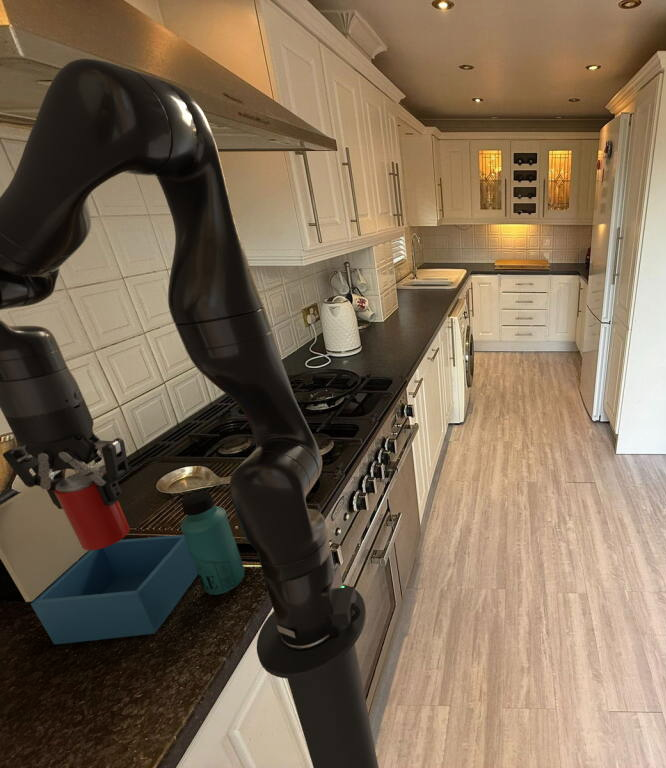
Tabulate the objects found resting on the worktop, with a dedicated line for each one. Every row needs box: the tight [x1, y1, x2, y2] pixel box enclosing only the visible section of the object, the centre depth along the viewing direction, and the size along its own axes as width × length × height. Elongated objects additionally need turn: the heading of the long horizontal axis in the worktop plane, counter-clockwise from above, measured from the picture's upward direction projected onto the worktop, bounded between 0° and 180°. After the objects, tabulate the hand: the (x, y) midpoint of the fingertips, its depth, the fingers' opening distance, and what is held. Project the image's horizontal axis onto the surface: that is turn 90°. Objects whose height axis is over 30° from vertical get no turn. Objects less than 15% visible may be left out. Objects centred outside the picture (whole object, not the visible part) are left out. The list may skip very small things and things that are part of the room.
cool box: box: [30, 534, 199, 645], centre depth 69 cm, size 14×13×9 cm
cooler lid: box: [0, 469, 90, 603], centre depth 63 cm, size 15×13×6 cm
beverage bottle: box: [180, 490, 246, 596], centre depth 70 cm, size 6×7×20 cm
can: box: [54, 469, 131, 551], centre depth 63 cm, size 6×6×11 cm
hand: (91, 503), depth 62 cm, fingers closed on can, 5 cm apart
